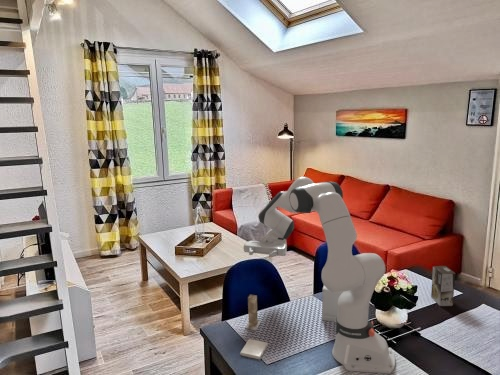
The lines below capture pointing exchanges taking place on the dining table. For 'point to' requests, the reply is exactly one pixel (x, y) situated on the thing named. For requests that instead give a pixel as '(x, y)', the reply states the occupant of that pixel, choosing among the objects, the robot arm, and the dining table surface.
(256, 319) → the wooden post on base
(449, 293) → the coffee box
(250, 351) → the tile
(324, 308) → the supplement box
